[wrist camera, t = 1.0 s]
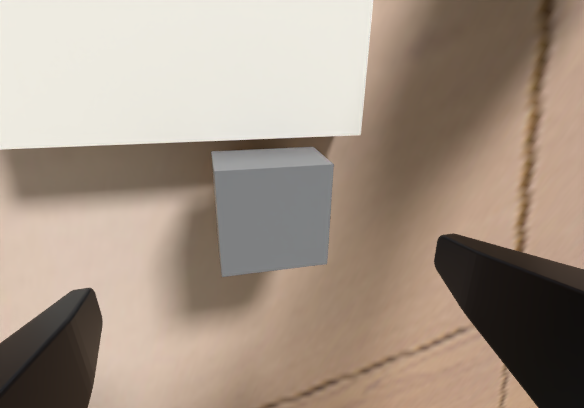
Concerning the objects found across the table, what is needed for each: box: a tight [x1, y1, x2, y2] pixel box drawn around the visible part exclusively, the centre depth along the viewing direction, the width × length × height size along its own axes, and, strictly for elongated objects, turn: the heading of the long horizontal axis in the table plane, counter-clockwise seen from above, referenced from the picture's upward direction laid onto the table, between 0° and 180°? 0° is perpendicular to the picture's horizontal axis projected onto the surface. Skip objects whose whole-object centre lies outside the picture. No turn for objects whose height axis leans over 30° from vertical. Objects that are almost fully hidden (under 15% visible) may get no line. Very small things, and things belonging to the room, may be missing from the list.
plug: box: [211, 147, 334, 277], centre depth 18 cm, size 5×5×6 cm
